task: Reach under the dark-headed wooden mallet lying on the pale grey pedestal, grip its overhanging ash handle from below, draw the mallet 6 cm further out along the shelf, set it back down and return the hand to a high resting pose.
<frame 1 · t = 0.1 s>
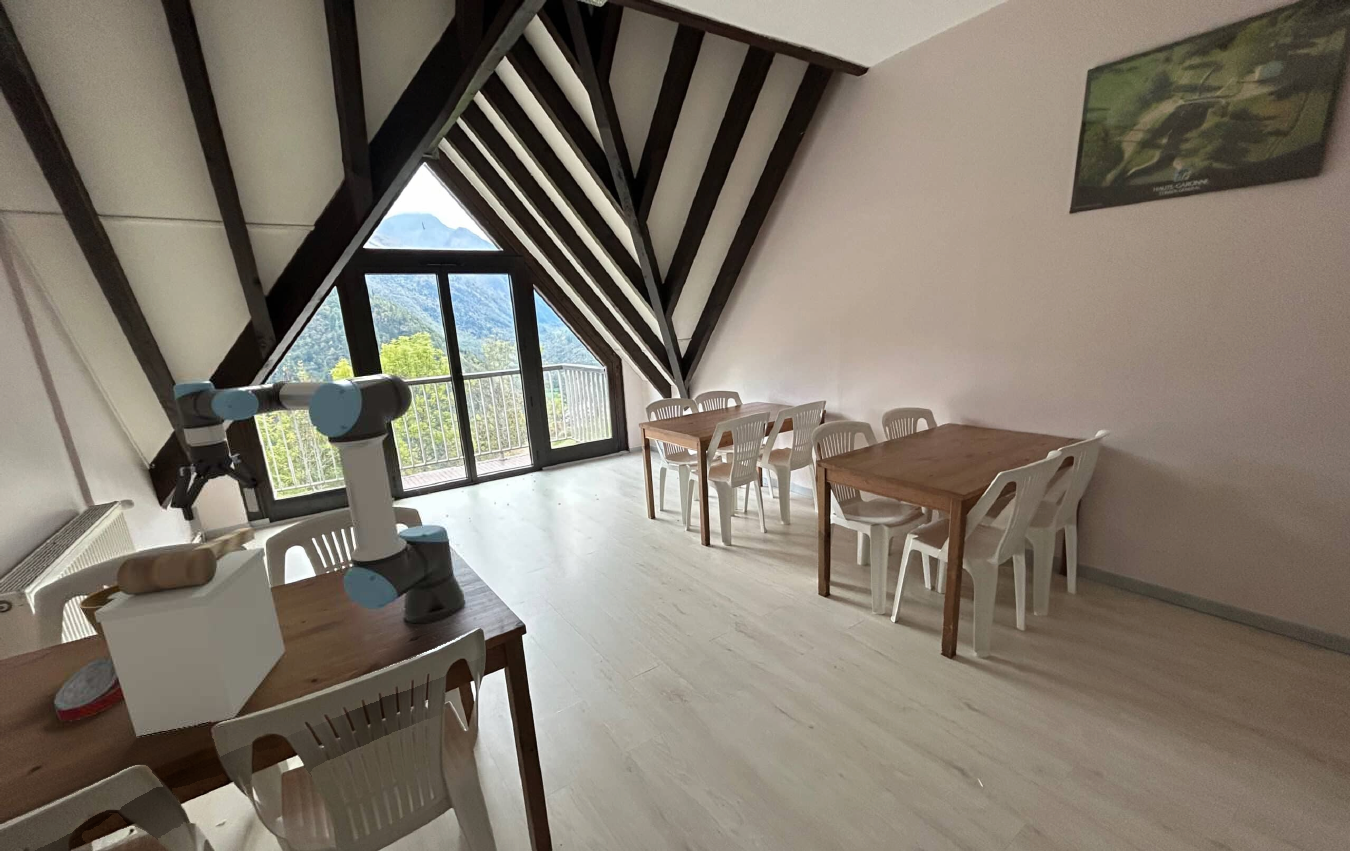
hand: (227, 520, 134), 28 cm above the table, tool pointing down, fingers open, 13 cm apart
canned food: (94, 705, 109), on the table
sauce bottle: (146, 671, 118), on the table
mallet: (221, 561, 116), point 25 cm above the table, tilted 7°, touching pedestal
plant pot: (142, 649, 127), on the table
pedestal: (219, 689, 111), on the table
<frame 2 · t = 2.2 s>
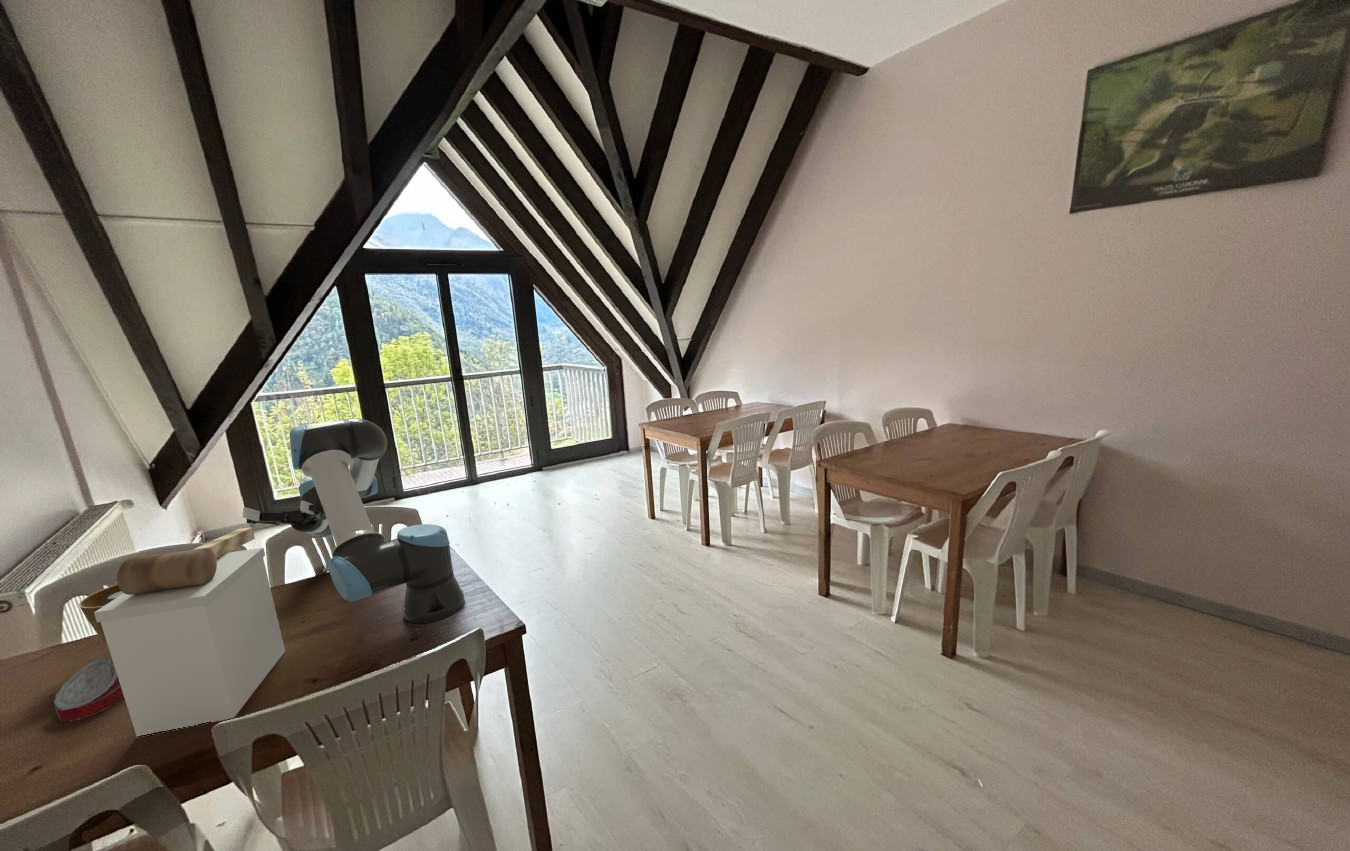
hand: (273, 508, 140), 28 cm above the table, tool pointing upward, fingers open, 13 cm apart
nothing on the table moved.
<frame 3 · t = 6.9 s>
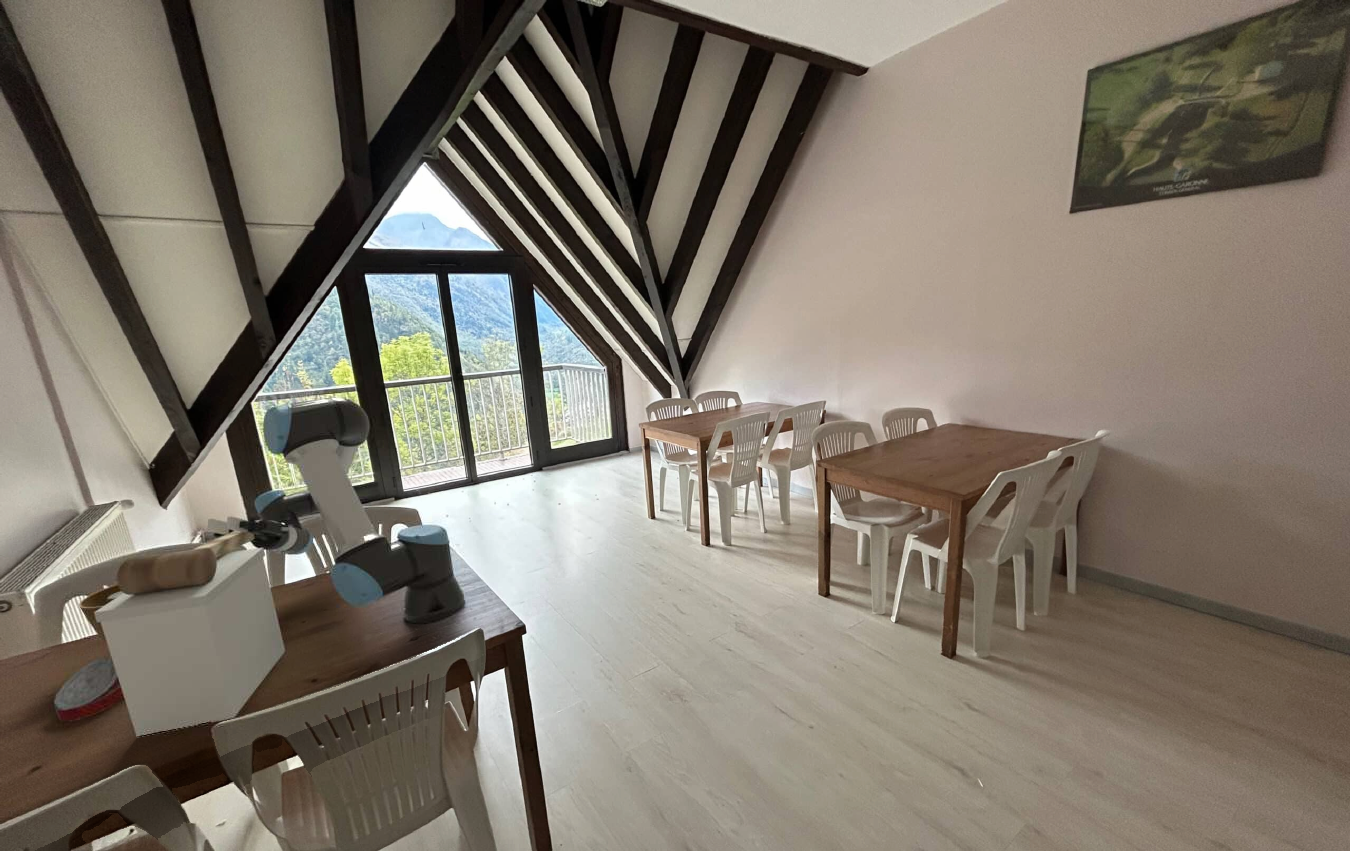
hand: (219, 523, 117), 33 cm above the table, tool pointing upward, fingers closed on mallet, 3 cm apart
mallet: (221, 561, 116), point 25 cm above the table, tilted 7°, touching gripper, pedestal
everything else where it was.
when the fingers open (34 cm above the table, at t = 10.4 s): mallet drops 2 cm, resting on pedestal.
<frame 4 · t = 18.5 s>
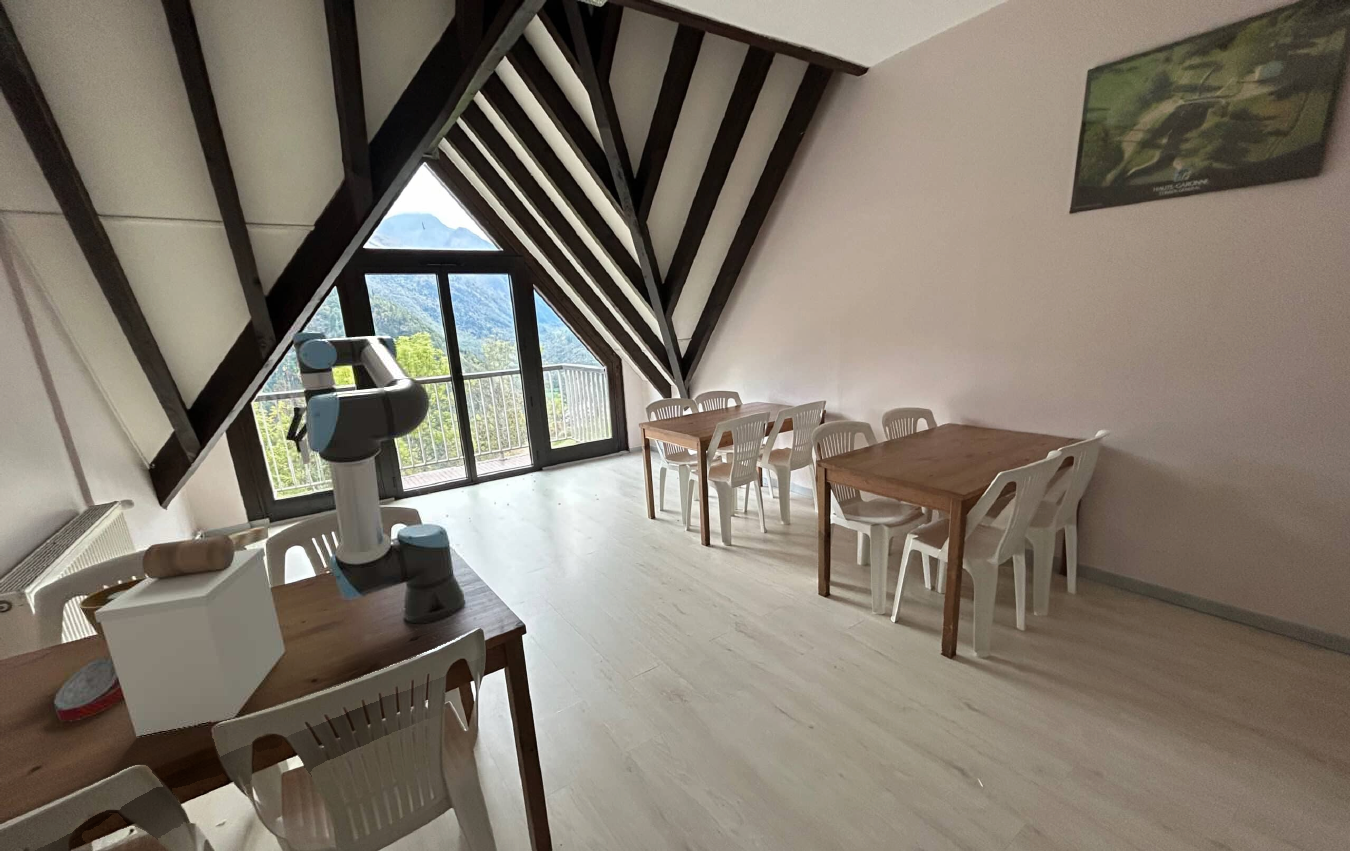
hand: (333, 460, 148), 39 cm above the table, tool pointing down, fingers open, 13 cm apart
mallet: (237, 555, 122), point 24 cm above the table, tilted 12°, touching pedestal
everything else where it was.
at the end: mallet moved 6.8 cm from its start; mallet touching pedestal; the gripper is holding nothing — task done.
